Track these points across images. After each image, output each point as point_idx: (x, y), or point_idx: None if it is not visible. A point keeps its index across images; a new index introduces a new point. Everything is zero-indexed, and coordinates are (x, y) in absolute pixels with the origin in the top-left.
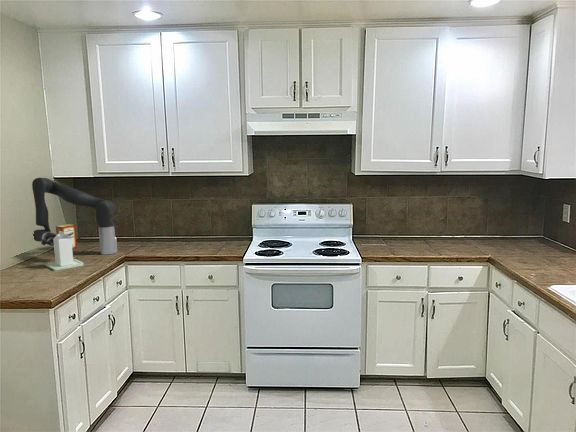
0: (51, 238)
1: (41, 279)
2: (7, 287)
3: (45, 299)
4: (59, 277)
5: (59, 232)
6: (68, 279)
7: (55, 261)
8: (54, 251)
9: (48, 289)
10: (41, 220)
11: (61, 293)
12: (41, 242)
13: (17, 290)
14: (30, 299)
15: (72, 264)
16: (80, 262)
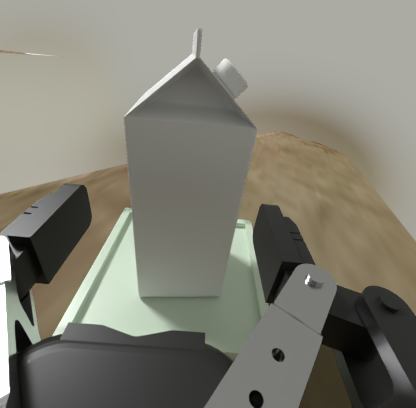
0: (218, 386)
1: (293, 187)
2: (368, 188)
3: (285, 133)
4: (248, 175)
5: (200, 49)
6: None
7: (223, 281)
8: (234, 231)
9: (279, 148)
10: None
11: (262, 134)
12: None
13: (336, 167)
14: (305, 140)
15: None
16: (121, 227)
